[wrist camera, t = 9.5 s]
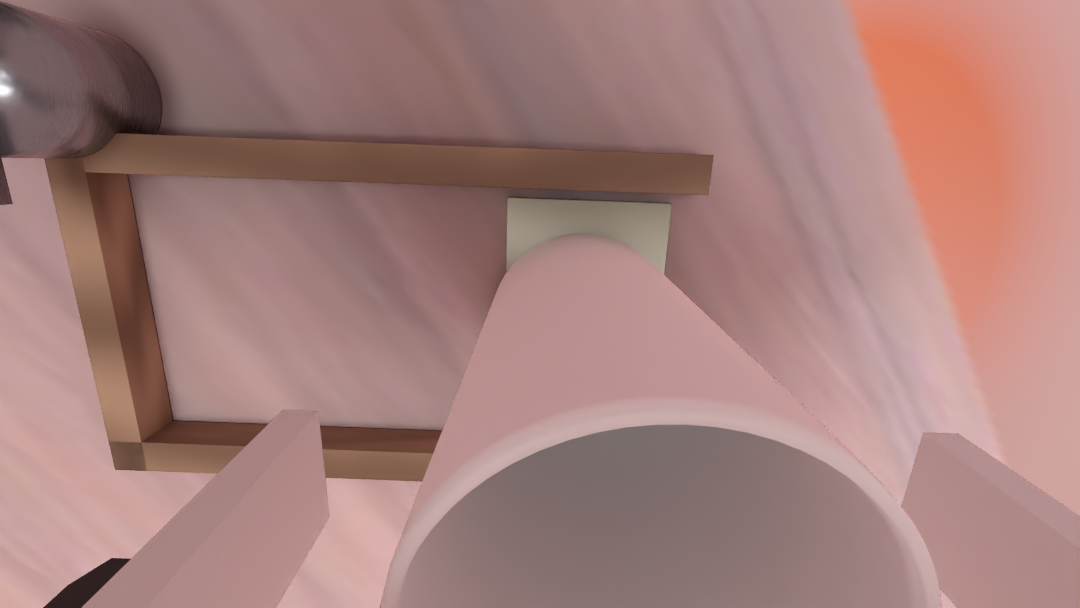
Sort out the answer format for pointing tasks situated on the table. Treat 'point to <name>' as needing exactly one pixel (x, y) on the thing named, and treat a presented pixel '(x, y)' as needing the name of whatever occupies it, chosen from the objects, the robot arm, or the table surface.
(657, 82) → the table surface
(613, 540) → the cup
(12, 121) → the winch drum
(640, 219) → the frame
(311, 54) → the table surface
